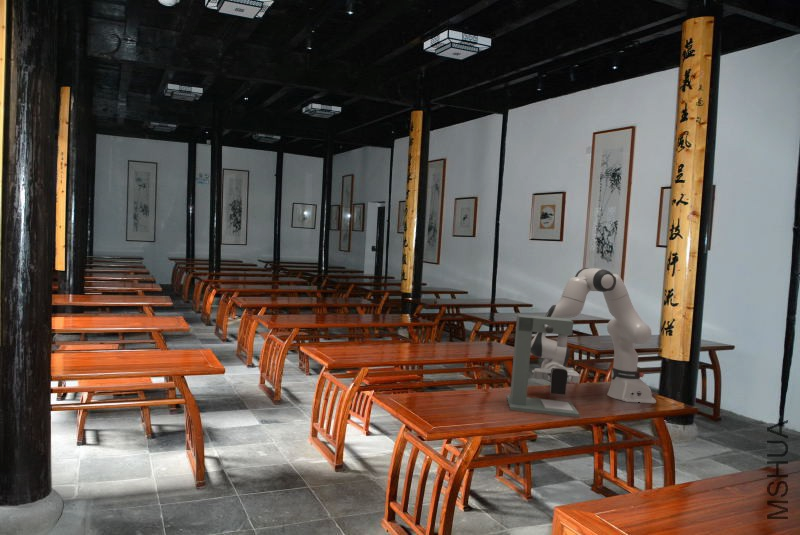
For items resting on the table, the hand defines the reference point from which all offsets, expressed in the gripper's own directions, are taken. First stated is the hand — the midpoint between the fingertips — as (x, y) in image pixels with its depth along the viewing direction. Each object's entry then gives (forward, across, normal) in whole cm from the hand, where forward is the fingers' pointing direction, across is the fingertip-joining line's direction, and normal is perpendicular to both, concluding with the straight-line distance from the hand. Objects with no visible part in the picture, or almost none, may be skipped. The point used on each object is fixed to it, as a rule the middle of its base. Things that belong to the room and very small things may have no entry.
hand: (558, 379), depth 259 cm
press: (+3, -6, +14) cm, 15 cm away
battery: (-1, 0, +7) cm, 7 cm away
